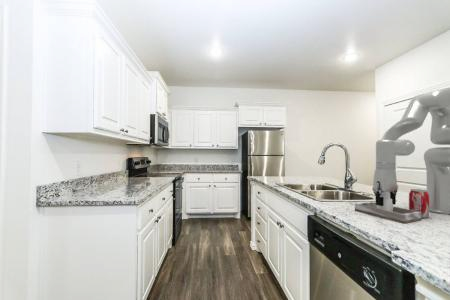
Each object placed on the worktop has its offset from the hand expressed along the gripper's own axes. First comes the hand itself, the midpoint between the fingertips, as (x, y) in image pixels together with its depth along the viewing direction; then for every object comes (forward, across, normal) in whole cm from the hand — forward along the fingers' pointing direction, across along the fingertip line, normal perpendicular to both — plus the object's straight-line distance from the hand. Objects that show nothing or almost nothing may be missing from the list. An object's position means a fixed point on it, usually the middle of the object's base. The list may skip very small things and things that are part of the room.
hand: (385, 204), depth 106 cm
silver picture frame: (+5, 0, 0) cm, 5 cm away
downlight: (+4, 0, 0) cm, 4 cm away
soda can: (+5, -12, +7) cm, 15 cm away
